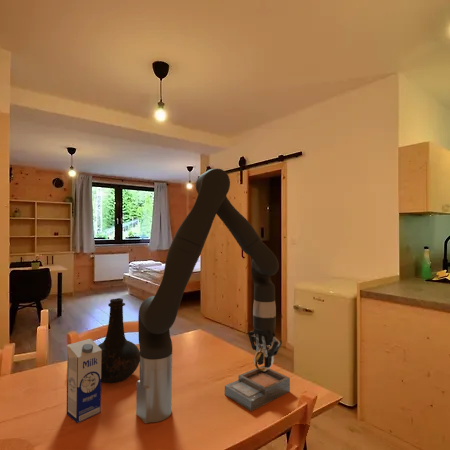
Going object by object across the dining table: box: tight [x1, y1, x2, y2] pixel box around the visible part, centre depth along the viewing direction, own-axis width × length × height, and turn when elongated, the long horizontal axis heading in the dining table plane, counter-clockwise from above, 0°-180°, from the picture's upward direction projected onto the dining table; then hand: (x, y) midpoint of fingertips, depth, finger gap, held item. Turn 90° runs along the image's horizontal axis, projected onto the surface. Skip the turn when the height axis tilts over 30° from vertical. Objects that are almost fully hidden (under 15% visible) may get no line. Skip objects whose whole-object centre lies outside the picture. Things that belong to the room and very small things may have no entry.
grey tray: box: [224, 365, 291, 412], centre depth 103 cm, size 18×12×4 cm, turn 130°
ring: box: [253, 347, 275, 372], centre depth 105 cm, size 7×3×8 cm, turn 108°
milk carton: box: [66, 338, 102, 424], centre depth 91 cm, size 7×7×20 cm
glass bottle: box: [97, 297, 140, 384], centre depth 113 cm, size 18×18×28 cm
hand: (264, 365), depth 105 cm, fingers closed on ring, 2 cm apart
